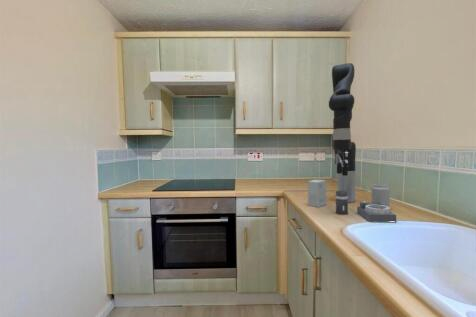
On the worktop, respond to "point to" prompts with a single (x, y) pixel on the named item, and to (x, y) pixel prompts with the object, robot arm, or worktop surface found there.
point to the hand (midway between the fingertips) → (342, 174)
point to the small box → (317, 193)
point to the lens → (342, 202)
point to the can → (381, 194)
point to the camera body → (375, 211)
